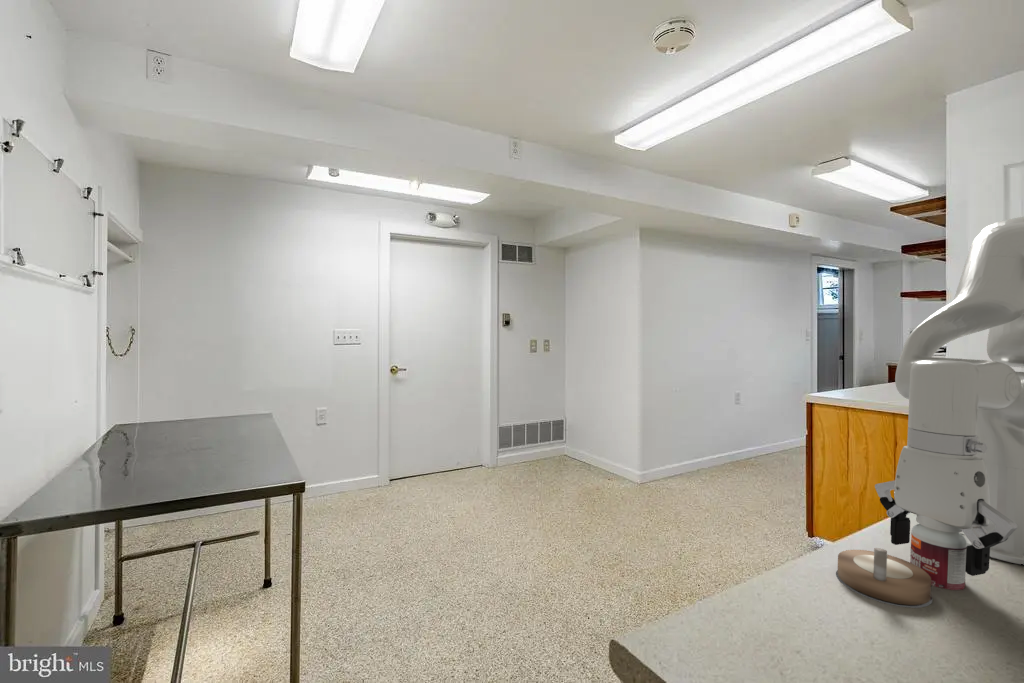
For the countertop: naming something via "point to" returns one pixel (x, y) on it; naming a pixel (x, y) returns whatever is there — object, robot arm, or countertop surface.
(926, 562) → the pill bottle
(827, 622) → the countertop surface
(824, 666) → the countertop surface
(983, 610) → the countertop surface
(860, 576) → the turntable
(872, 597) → the base
